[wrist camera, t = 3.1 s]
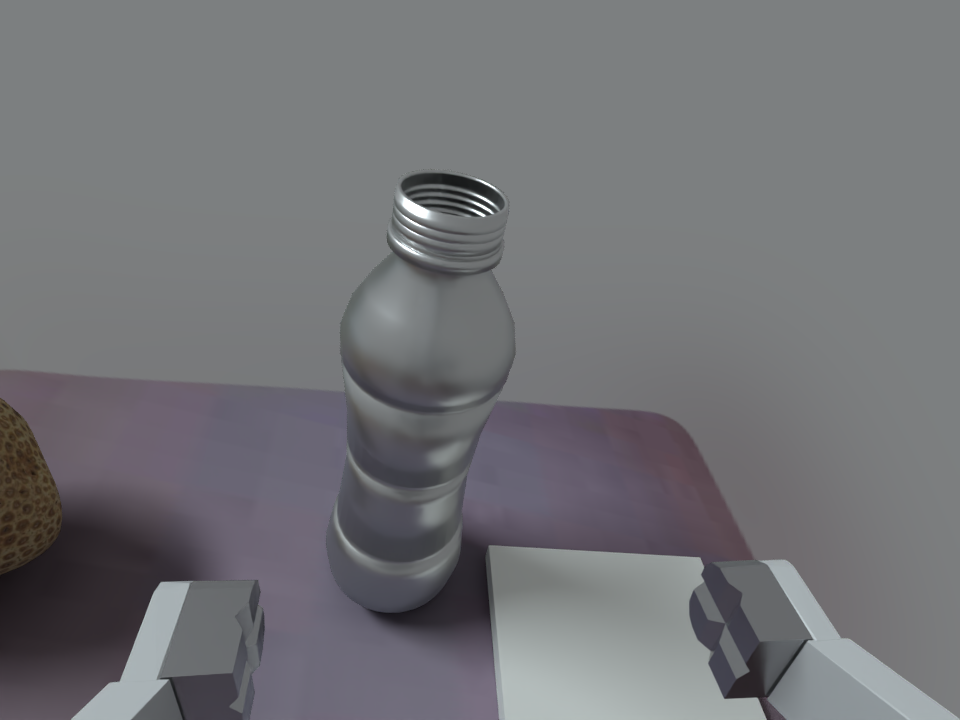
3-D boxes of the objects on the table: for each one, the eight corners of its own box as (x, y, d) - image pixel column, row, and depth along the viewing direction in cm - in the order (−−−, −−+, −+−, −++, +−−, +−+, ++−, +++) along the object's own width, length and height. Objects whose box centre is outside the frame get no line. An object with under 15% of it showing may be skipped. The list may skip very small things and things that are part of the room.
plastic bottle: (451, 518, 33) (539, 169, 22) (454, 636, 28) (573, 259, 16) (333, 509, 32) (358, 139, 21) (313, 630, 27) (331, 223, 15)
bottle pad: (820, 892, 23) (835, 885, 22) (514, 906, 21) (521, 899, 20) (693, 567, 34) (700, 557, 33) (485, 556, 32) (489, 545, 31)
